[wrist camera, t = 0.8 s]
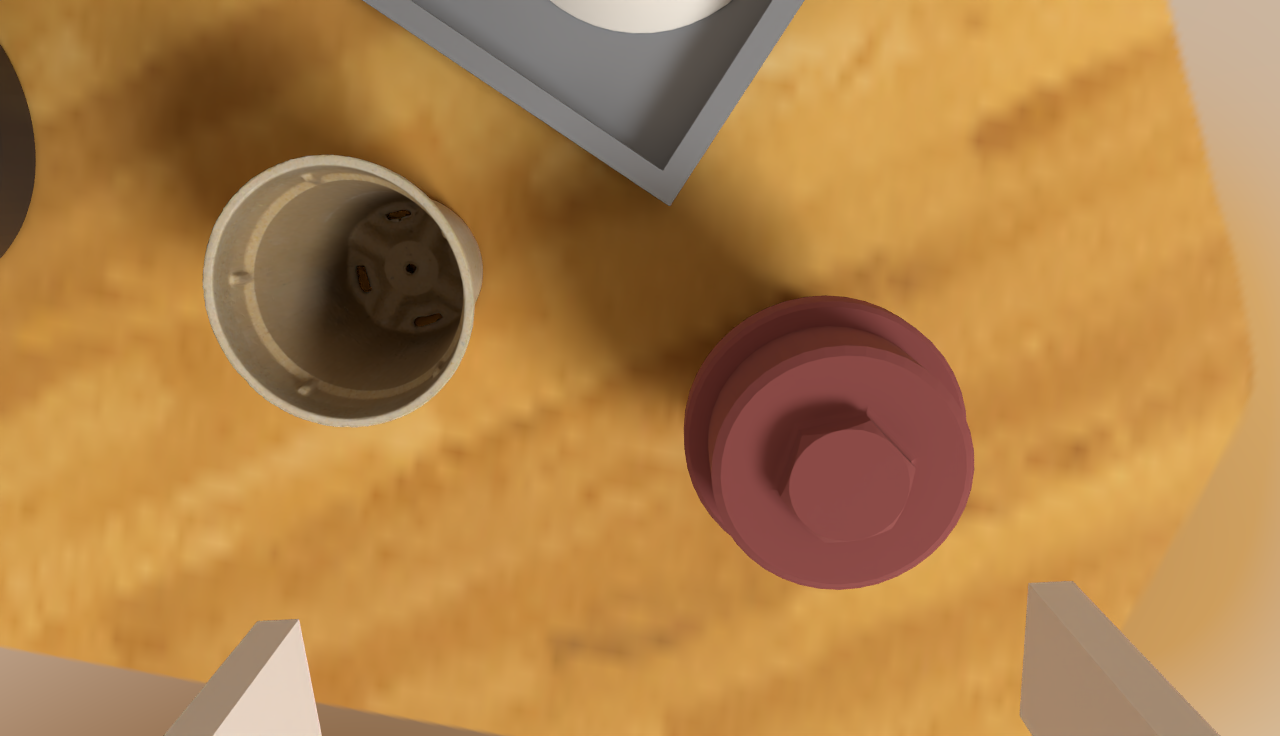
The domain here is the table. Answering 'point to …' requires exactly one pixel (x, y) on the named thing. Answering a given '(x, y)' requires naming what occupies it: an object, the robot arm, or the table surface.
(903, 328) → the mechanical component
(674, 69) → the housing tray
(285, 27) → the table surface
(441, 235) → the flower pot
